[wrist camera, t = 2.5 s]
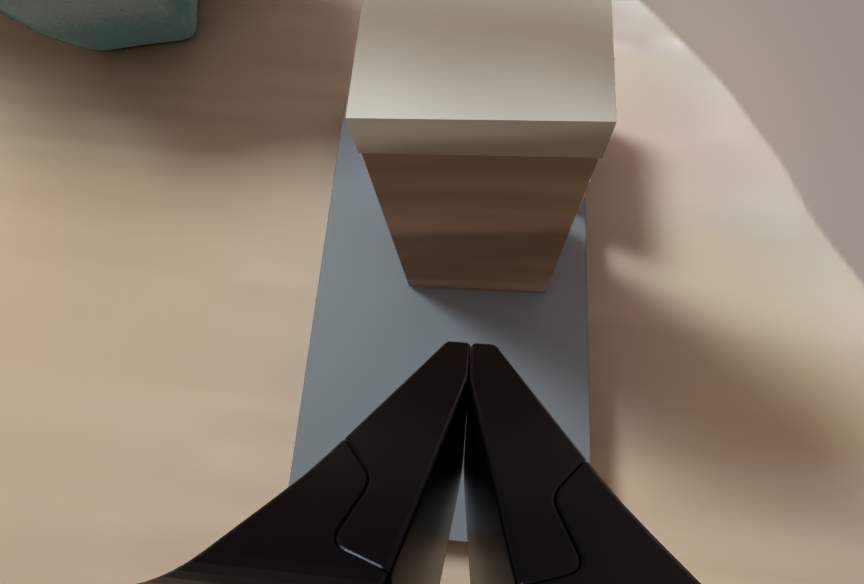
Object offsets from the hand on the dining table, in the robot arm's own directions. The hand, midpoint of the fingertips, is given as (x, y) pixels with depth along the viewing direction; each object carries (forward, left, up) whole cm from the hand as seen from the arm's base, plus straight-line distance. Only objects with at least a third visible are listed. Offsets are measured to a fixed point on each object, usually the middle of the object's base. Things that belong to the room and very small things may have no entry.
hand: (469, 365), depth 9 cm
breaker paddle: (+6, 0, -9) cm, 11 cm away
